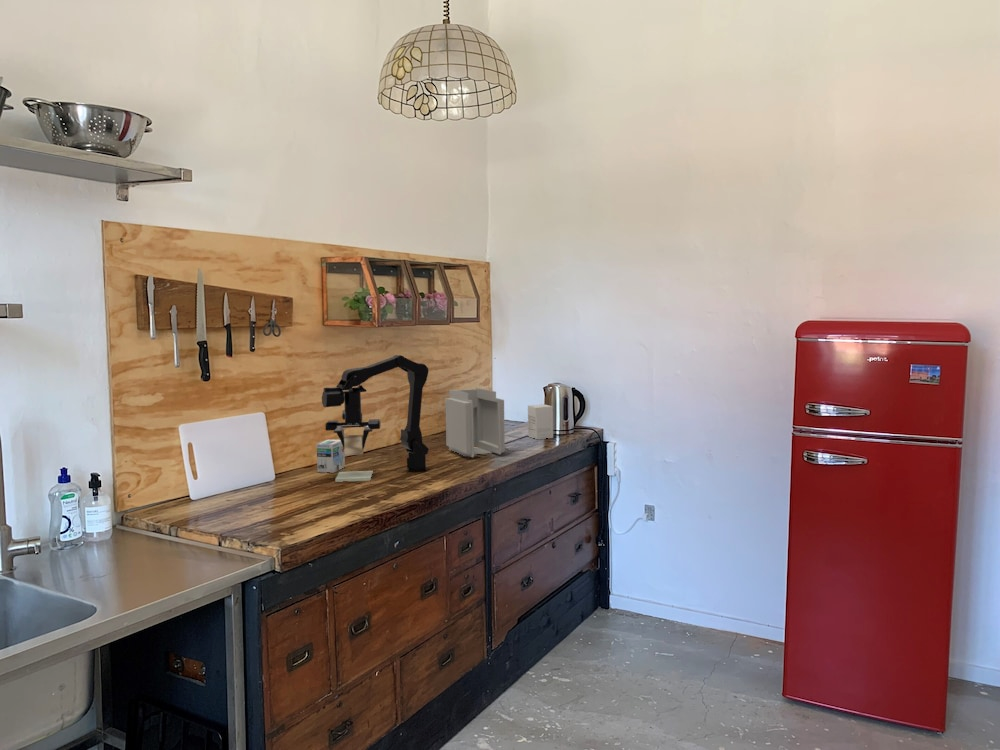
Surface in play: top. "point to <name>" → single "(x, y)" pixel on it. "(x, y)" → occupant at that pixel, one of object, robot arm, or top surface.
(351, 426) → the robot arm
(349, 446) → the birch cube
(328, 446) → the light bulb box
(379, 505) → the top surface
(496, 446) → the gray open cabinet
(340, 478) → the sage board
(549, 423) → the supplement box
